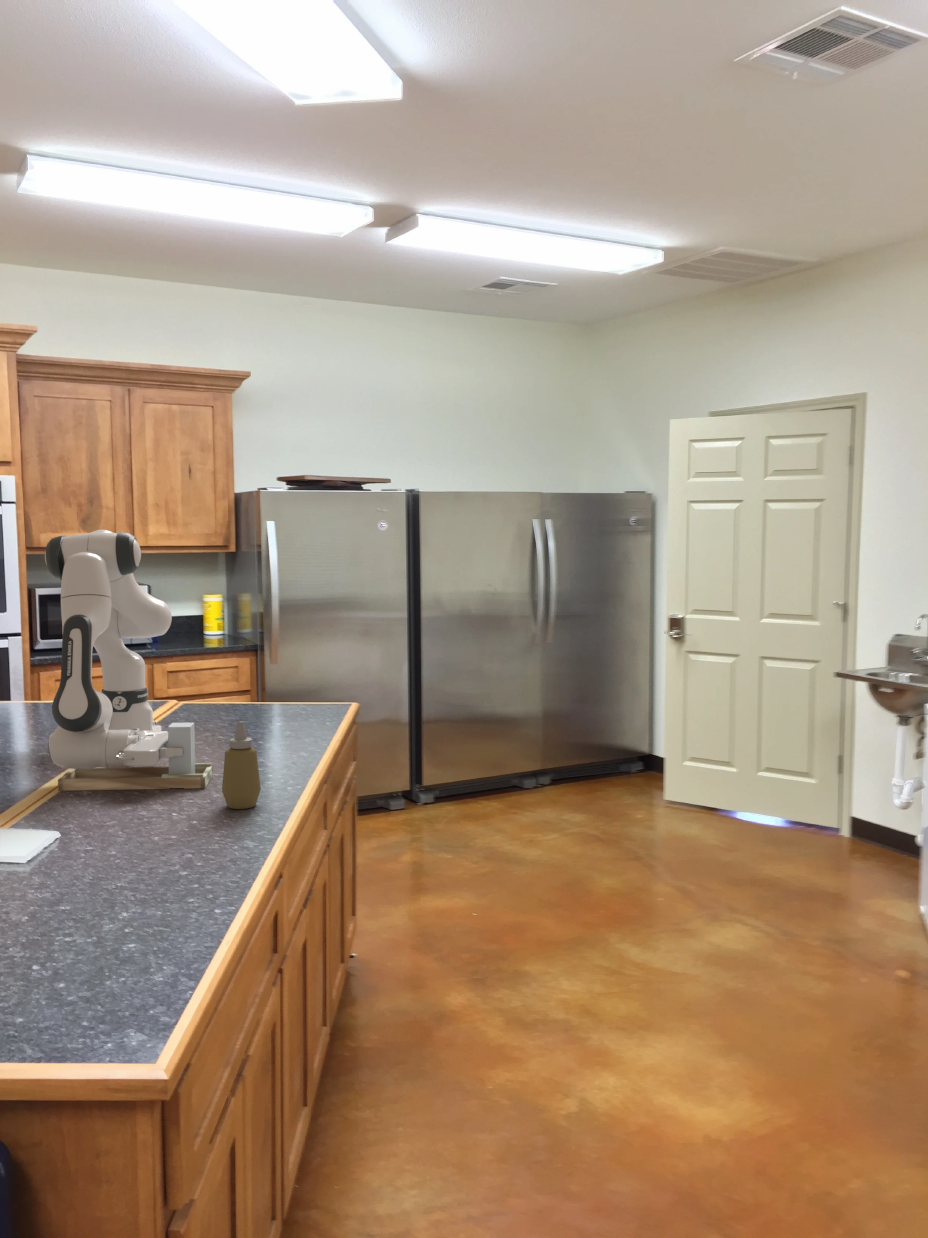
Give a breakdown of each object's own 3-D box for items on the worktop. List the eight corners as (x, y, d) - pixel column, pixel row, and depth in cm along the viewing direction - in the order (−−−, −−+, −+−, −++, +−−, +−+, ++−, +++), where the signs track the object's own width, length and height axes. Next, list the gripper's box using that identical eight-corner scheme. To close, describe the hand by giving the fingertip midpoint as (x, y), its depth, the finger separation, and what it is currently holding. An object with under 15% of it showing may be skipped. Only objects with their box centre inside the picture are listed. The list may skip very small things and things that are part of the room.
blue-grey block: (173, 773, 231) (172, 722, 230) (195, 773, 231) (194, 722, 230) (168, 779, 226) (167, 727, 225) (191, 778, 226) (190, 727, 225)
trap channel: (73, 778, 232) (72, 765, 232) (212, 775, 235) (212, 763, 235) (58, 790, 221) (57, 777, 221) (205, 788, 224) (204, 774, 224)
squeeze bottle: (268, 803, 212) (267, 719, 211) (248, 813, 205) (247, 727, 203) (235, 799, 215) (234, 717, 213) (214, 809, 207) (212, 724, 206)
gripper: (111, 745, 216) (176, 744, 217) (133, 726, 236) (193, 725, 238) (112, 774, 217) (177, 773, 218) (134, 752, 237) (193, 751, 238)
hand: (185, 748), depth 228 cm, fingers closed on blue-grey block, 5 cm apart
